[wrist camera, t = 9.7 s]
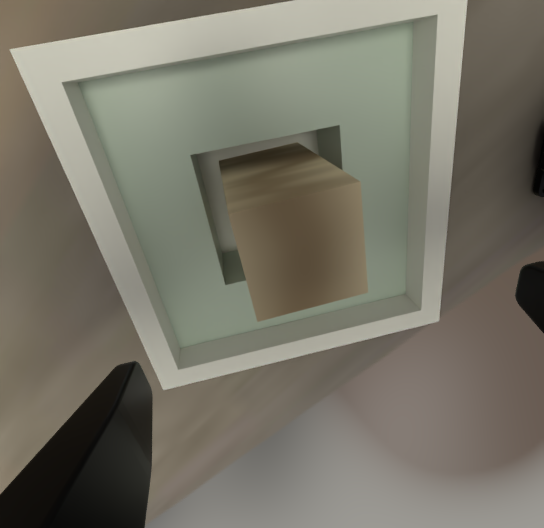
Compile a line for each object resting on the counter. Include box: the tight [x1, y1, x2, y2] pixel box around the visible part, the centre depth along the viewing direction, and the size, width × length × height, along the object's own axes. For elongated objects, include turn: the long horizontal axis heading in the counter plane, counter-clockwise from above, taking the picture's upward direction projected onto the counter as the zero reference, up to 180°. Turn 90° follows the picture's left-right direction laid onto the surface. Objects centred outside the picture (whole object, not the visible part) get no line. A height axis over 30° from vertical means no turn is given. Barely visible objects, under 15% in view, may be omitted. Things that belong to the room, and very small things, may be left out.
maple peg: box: [219, 142, 368, 322], centre depth 15 cm, size 4×4×8 cm
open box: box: [10, 0, 467, 390], centre depth 16 cm, size 14×14×6 cm
